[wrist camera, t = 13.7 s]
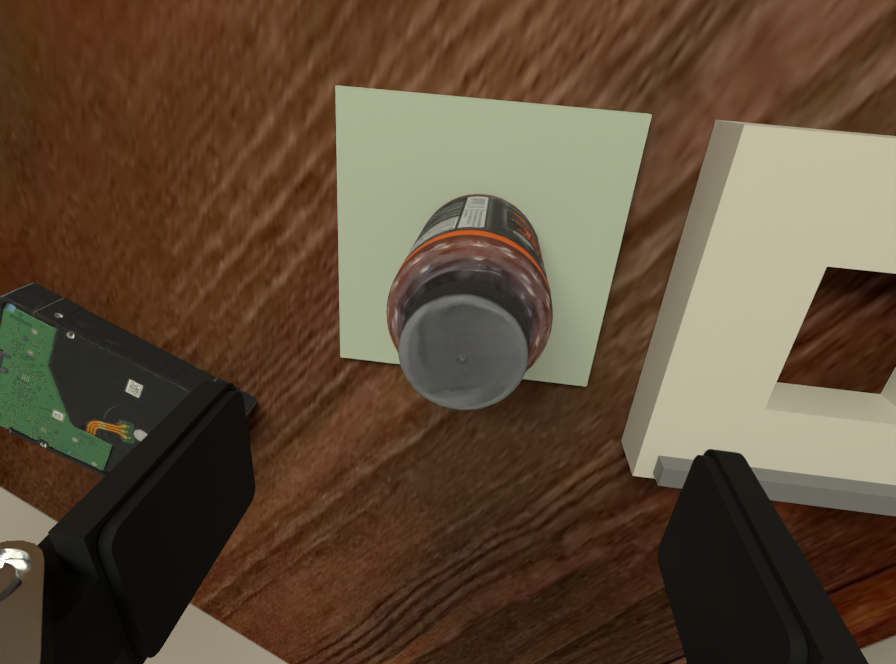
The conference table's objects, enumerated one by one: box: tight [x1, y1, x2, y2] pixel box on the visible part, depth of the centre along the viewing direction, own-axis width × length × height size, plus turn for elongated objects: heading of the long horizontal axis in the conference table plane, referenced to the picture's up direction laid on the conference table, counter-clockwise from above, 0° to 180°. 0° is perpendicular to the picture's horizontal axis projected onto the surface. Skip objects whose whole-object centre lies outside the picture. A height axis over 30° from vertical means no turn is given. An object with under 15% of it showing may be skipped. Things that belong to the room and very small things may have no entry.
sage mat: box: [335, 86, 652, 387], centre depth 26 cm, size 14×14×1 cm
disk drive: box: [0, 283, 258, 477], centre depth 32 cm, size 10×3×15 cm
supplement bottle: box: [386, 194, 553, 410], centre depth 20 cm, size 6×6×11 cm
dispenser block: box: [621, 120, 896, 516], centre depth 24 cm, size 18×18×4 cm
